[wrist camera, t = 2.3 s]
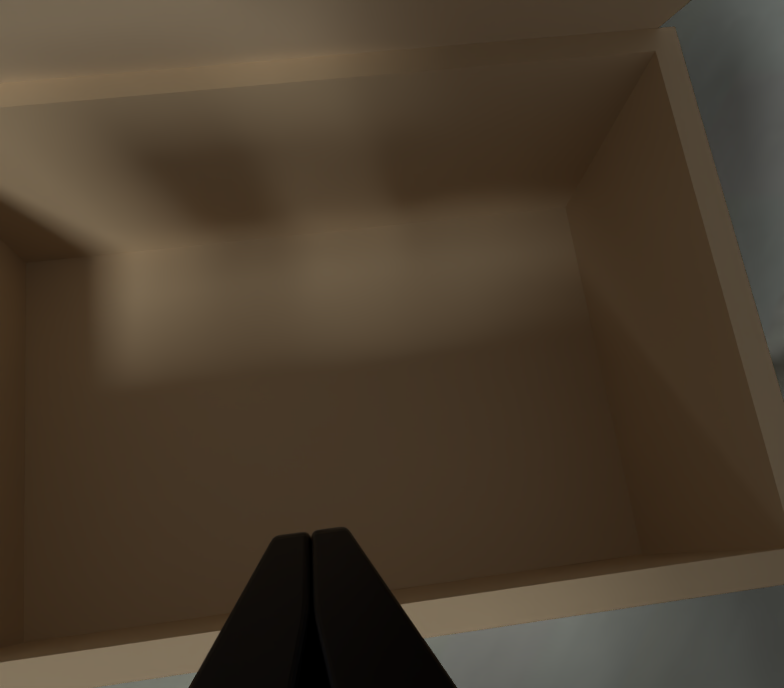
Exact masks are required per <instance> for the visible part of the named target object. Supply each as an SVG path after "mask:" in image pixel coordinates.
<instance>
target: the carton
mask: <svg viewBox="0 0 784 688" xmlns="http://www.w3.org/2000/svg"><path fill="white" fill-rule="evenodd" d="M334 527H346V528H347V529H348V530H349V531H350V532H351V533H352V535H353V536H354V538H355V539H356V541H357V542H358V543H359V545H360V546H361V548H362V549H363V551H364V552H365V554H366V555H367V557H368V558H369V560H370V561H371V562H372V564H373V565H374V567H375V568H376V570H377V571H378V573H379V574H380V576H381V577H382V579H383V580H384V581H385V583H386V584H387V586H388V587H389V589H390V590H391V592H392V593H393V595H394V596H395V598H396V599H397V600H398V602H399V603H400V605H401V606H402V608H403V609H404V611H405V612H406V614H407V615H408V617H409V618H410V619H411V621H412V622H413V624H414V625H415V627H416V628H417V630H418V631H419V633H420V634H421V636H422V637H423V638H429V637H436V636H442V635H449V634H456V633H463V632H469V631H476V630H483V629H489V628H496V627H503V626H509V625H516V624H523V623H530V622H536V621H543V620H550V619H556V618H563V617H570V616H577V615H583V614H590V613H597V612H603V611H610V610H617V609H624V608H630V607H637V606H644V605H650V604H657V603H664V602H671V601H677V600H684V599H691V598H697V597H704V596H711V595H718V594H724V593H731V592H738V591H744V590H751V589H758V588H764V587H771V586H778V585H784V401H783V398H782V394H781V391H780V387H779V384H778V380H777V377H776V373H775V370H774V367H773V363H772V360H771V356H770V353H769V349H768V346H767V342H766V339H765V336H764V332H763V329H762V325H761V322H760V318H759V315H758V311H757V308H756V305H755V301H754V298H753V294H752V291H751V287H750V284H749V280H748V277H747V273H746V270H745V267H744V263H743V260H742V256H741V253H740V249H739V246H738V242H737V239H736V236H735V232H734V229H733V225H732V222H731V218H730V215H729V211H728V208H727V205H726V201H725V198H724V194H723V191H722V187H721V184H720V180H719V177H718V174H717V170H716V167H715V163H714V160H713V156H712V153H711V149H710V146H709V142H708V139H707V136H706V132H705V129H704V125H703V122H702V118H701V115H700V111H699V108H698V105H697V101H696V98H695V94H694V91H693V87H692V84H691V80H690V77H689V74H688V70H687V67H686V63H685V60H684V56H683V53H682V49H681V46H680V43H679V39H678V36H677V32H676V29H675V27H663V28H653V29H641V30H629V31H617V32H605V33H593V34H581V35H569V36H557V37H545V38H533V39H521V40H509V41H497V42H486V43H474V44H462V45H450V46H438V47H426V48H414V49H402V50H390V51H378V52H366V53H354V54H342V55H330V56H318V57H307V58H295V59H283V60H271V61H259V62H247V63H235V64H223V65H211V66H199V67H187V68H175V69H163V70H151V71H139V72H128V73H116V74H104V75H92V76H80V77H68V78H56V79H44V80H32V81H20V82H8V83H0V688H93V687H100V686H107V685H114V684H120V683H127V682H134V681H140V680H147V679H154V678H161V677H167V676H174V675H181V674H187V673H194V672H198V670H199V668H200V667H201V665H202V663H203V661H204V659H205V658H206V656H207V654H208V652H209V651H210V649H211V647H212V645H213V643H214V642H215V640H216V638H217V636H218V634H219V633H220V631H221V629H222V627H223V626H224V624H225V622H226V620H227V618H228V617H229V615H230V613H231V611H232V609H233V608H234V606H235V604H236V602H237V601H238V599H239V597H240V595H241V593H242V592H243V590H244V588H245V586H246V584H247V583H248V581H249V579H250V577H251V576H252V574H253V572H254V570H255V568H256V567H257V565H258V563H259V561H260V559H261V558H262V556H263V554H264V552H265V551H266V549H267V547H268V545H269V543H270V542H271V540H272V539H273V538H274V537H275V536H277V535H283V534H290V533H297V532H307V533H309V535H310V536H311V535H312V533H313V532H314V531H315V530H319V529H327V528H334Z"/></svg>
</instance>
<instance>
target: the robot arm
mask: <svg viewBox="0 0 784 688" xmlns="http://www.w3.org/2000/svg"><path fill="white" fill-rule="evenodd" d="M189 688H457V687H456V685H455V684H454V682H453V681H452V679H451V678H450V676H449V675H448V674H447V672H446V671H445V669H444V668H443V666H442V665H441V663H440V662H439V660H438V659H437V657H436V656H435V655H434V653H433V652H432V650H431V649H430V647H429V646H428V644H427V643H426V641H425V640H424V638H423V637H422V636H421V634H420V633H419V631H418V630H417V628H416V627H415V625H414V624H413V622H412V621H411V619H410V618H409V617H408V615H407V614H406V612H405V611H404V609H403V608H402V606H401V605H400V603H399V602H398V600H397V599H396V598H395V596H394V595H393V593H392V592H391V590H390V589H389V587H388V586H387V584H386V583H385V581H384V580H383V579H382V577H381V576H380V574H379V573H378V571H377V570H376V568H375V567H374V565H373V564H372V562H371V561H370V560H369V558H368V557H367V555H366V554H365V552H364V551H363V549H362V548H361V546H360V545H359V543H358V542H357V541H356V539H355V538H354V536H353V535H352V533H351V532H350V531H349V530H348V529H347V528H346V527H334V528H327V529H319V530H315V531H314V532H313V533H312V535H311V536H310V535H309V533H307V532H297V533H290V534H283V535H277V536H275V537H274V538H273V539H272V540H271V542H270V543H269V545H268V547H267V549H266V551H265V552H264V554H263V556H262V558H261V559H260V561H259V563H258V565H257V567H256V568H255V570H254V572H253V574H252V576H251V577H250V579H249V581H248V583H247V584H246V586H245V588H244V590H243V592H242V593H241V595H240V597H239V599H238V601H237V602H236V604H235V606H234V608H233V609H232V611H231V613H230V615H229V617H228V618H227V620H226V622H225V624H224V626H223V627H222V629H221V631H220V633H219V634H218V636H217V638H216V640H215V642H214V643H213V645H212V647H211V649H210V651H209V652H208V654H207V656H206V658H205V659H204V661H203V663H202V665H201V667H200V668H199V670H198V672H197V674H196V675H195V677H194V679H193V681H192V683H191V684H190V686H189Z"/></svg>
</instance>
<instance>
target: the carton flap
mask: <svg viewBox="0 0 784 688" xmlns="http://www.w3.org/2000/svg"><path fill="white" fill-rule="evenodd" d="M690 1H691V0H0V83H8V82H20V81H32V80H44V79H56V78H68V77H80V76H92V75H104V74H116V73H128V72H139V71H151V70H163V69H175V68H187V67H199V66H211V65H223V64H235V63H247V62H259V61H271V60H283V59H295V58H307V57H318V56H330V55H342V54H354V53H366V52H378V51H390V50H402V49H414V48H426V47H438V46H450V45H462V44H474V43H486V42H497V41H509V40H521V39H533V38H545V37H557V36H569V35H581V34H593V33H605V32H617V31H629V30H641V29H653V28H659V27H660V26H661V25H662V24H664V23H665V22H666V21H667V20H668V19H670V18H671V17H672V16H673V15H674V14H676V13H677V12H678V11H679V10H680V9H682V8H683V7H684V6H685V5H686V4H688V3H689V2H690Z"/></svg>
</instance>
